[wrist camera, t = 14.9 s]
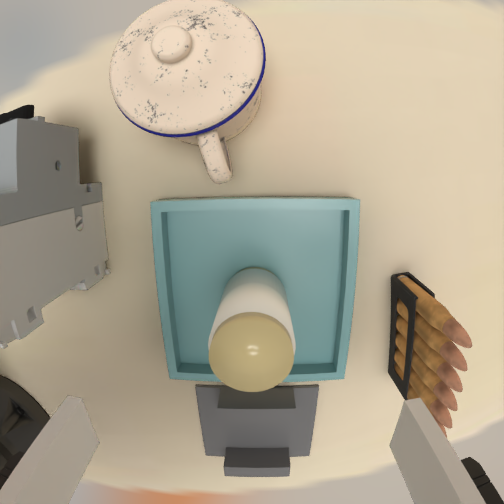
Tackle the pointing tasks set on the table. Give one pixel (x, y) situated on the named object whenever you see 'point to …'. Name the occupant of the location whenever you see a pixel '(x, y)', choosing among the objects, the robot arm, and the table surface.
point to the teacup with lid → (191, 75)
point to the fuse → (252, 332)
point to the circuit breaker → (44, 221)
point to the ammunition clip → (425, 348)
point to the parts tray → (257, 255)
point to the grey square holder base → (257, 427)
